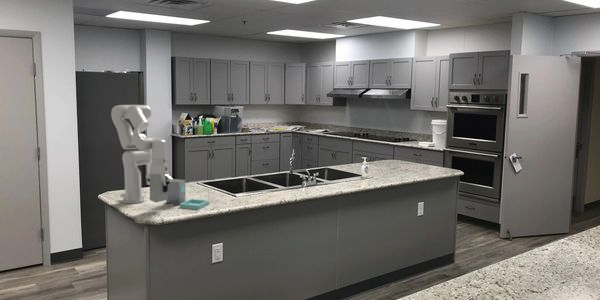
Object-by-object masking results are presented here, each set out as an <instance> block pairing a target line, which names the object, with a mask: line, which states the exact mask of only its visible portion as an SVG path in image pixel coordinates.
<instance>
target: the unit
mask: <svg viewBox="0 0 600 300" xmlns="http://www.w3.org/2000/svg"><path fill="white" fill-rule="evenodd" d="M165 201H166V202H163V204H164V205H172V206H180V203H183V202H185V201H186V179H179V178H177V179H176V178H172V181H171V182H170V183H169V185H168V200H165Z"/></svg>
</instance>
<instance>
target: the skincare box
mask: <svg viewBox="0 0 600 300" xmlns="http://www.w3.org/2000/svg"><path fill="white" fill-rule="evenodd" d="M149 177H150V184H149V201H151V202H153V203H160V202H164V201H166V200H168V191H167V192H165V193H164V192H163V186H164V184H163V182H162V181H161V176H160V175H154V174H150V176H149ZM167 179H168V178H166V179H165V180H167ZM168 180H169V179H168ZM168 180H167V181H168ZM165 182H166V181H165Z"/></svg>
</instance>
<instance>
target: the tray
mask: <svg viewBox="0 0 600 300" xmlns="http://www.w3.org/2000/svg"><path fill="white" fill-rule="evenodd" d="M209 205H210V200H207V199H198V198H195V199H194V198H190V199H187V200H185V202H183V203H180V205H179V208H182V209H191V210H201V209H203V208H205V207H207V206H209Z"/></svg>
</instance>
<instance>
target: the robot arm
mask: <svg viewBox="0 0 600 300" xmlns="http://www.w3.org/2000/svg"><path fill="white" fill-rule="evenodd" d="M110 115H111V120H112V122H113V124H114V126H115V128H116V131H117V135H118V138H119V142H120V145H121V147H122V149H124V150H126V151H124V152H123V154H122V157H121V158H122V164H123V168H124V169H123V171H124V193H121V194H120V196H119V197H120V198H123V199H122V203H124V204H139V203H143V202H145V198H144V197H142V172H141V170H140V169H139V167H138V166H143V165H149V164H150V168H149V172H148V173H147V174H145V178H146V180H147V182H148V184H149V185H150V174H154V175H160V176H161V181H162V182H163V184H164V186H163V192H164V193H165V192H167V191H168V185H169V183H170V182H171V181H172V179H173V178H172V177H171V176H170V175H169V167H168V164H167V163H168V162H169V161H168V159H167V142H166V140H165V139H162V138H160V137H157V136H156V137H155V136H154V137H147V135H146V134H144V133H143V132H144V131H146V130H147V129H148V128H149V125H150V124H149V121H148V119H150V117H151V116H152V110H151V108H150V106H148V105H146V104H118V105H115V106H113V108H112V109H111V113H110ZM125 119H127V120H128V119H129V121H130V123H131V124H132V125H131V124H130V123H129V122H128V121H127V120H125ZM132 126H133V128H132ZM166 178H168V179H167V180H168V181H167V180H165V179H166ZM165 181H166V182H165Z"/></svg>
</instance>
